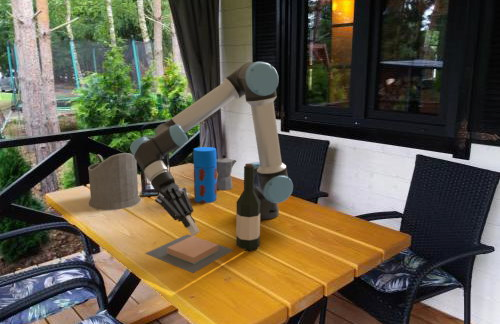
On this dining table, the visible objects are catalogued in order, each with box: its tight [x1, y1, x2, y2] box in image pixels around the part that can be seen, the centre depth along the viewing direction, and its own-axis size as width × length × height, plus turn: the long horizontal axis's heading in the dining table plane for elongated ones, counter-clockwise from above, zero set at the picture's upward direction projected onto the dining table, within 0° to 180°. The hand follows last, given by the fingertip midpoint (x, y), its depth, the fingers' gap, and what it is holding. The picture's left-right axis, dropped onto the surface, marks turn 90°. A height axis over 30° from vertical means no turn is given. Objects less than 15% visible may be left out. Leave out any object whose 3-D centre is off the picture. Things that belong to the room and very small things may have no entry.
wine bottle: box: [235, 163, 261, 252], centre depth 136 cm, size 8×8×30 cm
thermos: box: [193, 146, 218, 204], centre depth 187 cm, size 11×11×25 cm
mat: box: [144, 234, 234, 274], centre depth 133 cm, size 22×20×1 cm
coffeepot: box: [216, 154, 237, 191], centre depth 208 cm, size 15×9×18 cm, turn 103°
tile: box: [167, 235, 219, 264], centre depth 132 cm, size 2×12×12 cm
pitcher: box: [88, 152, 142, 211], centre depth 185 cm, size 23×32×25 cm
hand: (196, 233), depth 129 cm, fingers closed
